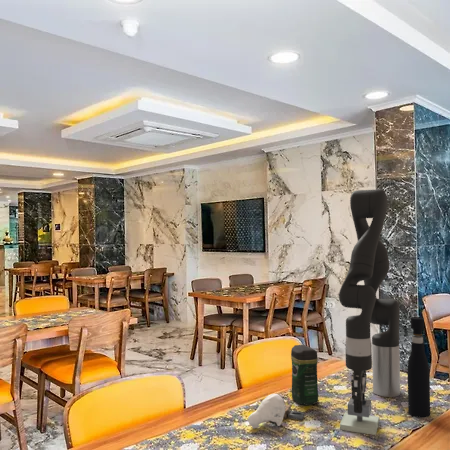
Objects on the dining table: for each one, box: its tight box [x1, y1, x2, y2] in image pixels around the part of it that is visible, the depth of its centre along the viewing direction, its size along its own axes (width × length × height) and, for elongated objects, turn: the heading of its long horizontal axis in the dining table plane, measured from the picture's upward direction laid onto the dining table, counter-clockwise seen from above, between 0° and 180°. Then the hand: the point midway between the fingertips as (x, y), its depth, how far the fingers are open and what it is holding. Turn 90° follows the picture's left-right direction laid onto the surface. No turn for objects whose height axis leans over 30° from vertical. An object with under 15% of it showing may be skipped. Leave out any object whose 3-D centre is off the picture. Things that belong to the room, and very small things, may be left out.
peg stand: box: [339, 411, 380, 436], centre depth 138 cm, size 10×10×8 cm
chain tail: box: [283, 404, 306, 421], centre depth 145 cm, size 5×8×2 cm, turn 66°
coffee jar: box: [290, 344, 319, 406], centre depth 159 cm, size 10×8×19 cm
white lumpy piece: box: [247, 393, 286, 430], centre depth 139 cm, size 6×8×12 cm
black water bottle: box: [406, 316, 431, 419], centre depth 146 cm, size 6×6×30 cm
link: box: [347, 397, 372, 417], centre depth 138 cm, size 6×6×3 cm
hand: (359, 408), depth 138 cm, fingers closed on link, 6 cm apart
